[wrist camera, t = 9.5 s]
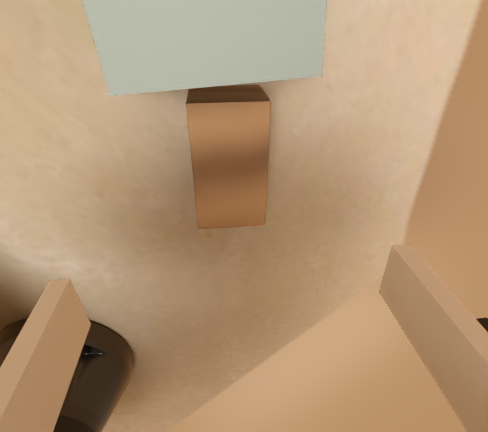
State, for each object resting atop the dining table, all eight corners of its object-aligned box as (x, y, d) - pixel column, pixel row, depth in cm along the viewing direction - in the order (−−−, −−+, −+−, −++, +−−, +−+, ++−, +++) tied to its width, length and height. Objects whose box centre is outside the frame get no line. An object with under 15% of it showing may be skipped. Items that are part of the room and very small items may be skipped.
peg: (256, 192, 28) (265, 225, 24) (199, 195, 27) (198, 229, 23) (258, 84, 23) (270, 101, 19) (189, 86, 23) (186, 103, 18)
